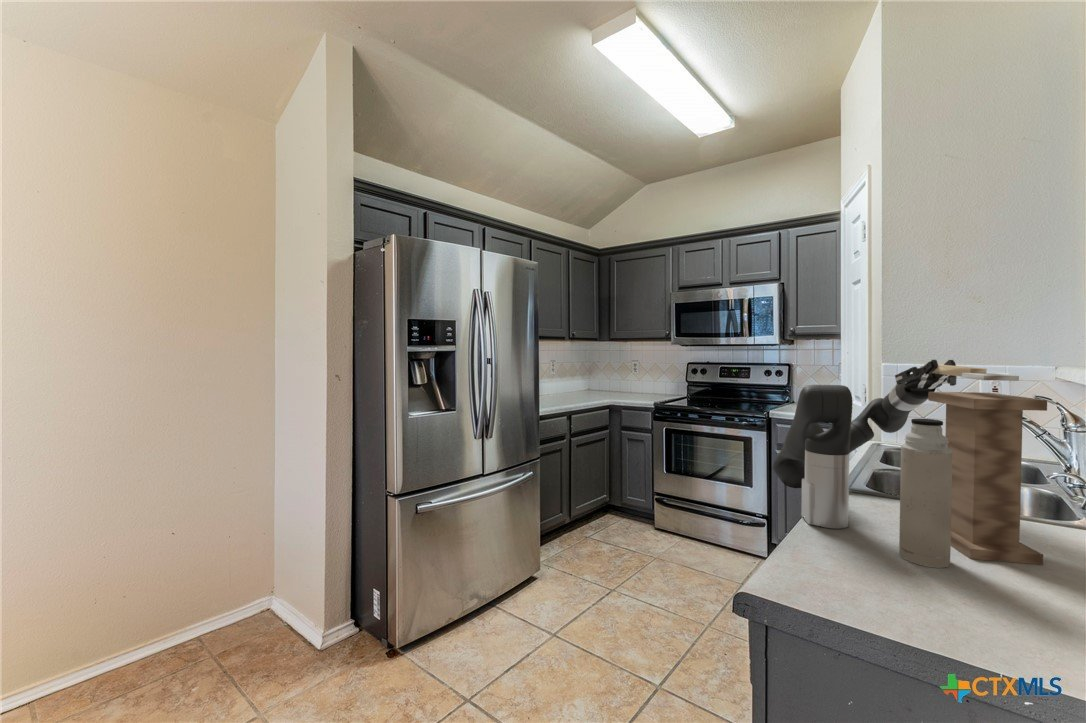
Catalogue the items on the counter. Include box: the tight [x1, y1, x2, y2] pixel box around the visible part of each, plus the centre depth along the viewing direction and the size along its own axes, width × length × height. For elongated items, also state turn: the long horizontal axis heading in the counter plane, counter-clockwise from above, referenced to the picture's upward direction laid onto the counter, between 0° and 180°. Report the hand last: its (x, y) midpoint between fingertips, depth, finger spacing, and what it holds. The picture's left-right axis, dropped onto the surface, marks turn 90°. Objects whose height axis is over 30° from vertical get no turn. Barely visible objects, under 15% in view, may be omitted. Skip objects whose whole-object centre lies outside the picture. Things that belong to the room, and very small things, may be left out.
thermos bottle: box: [898, 418, 952, 569], centre depth 95 cm, size 8×8×28 cm
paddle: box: [923, 363, 1020, 382], centre depth 109 cm, size 6×25×2 cm, turn 167°
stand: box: [927, 391, 1048, 566], centre depth 102 cm, size 12×16×32 cm
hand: (943, 363), depth 116 cm, fingers closed on paddle, 3 cm apart
